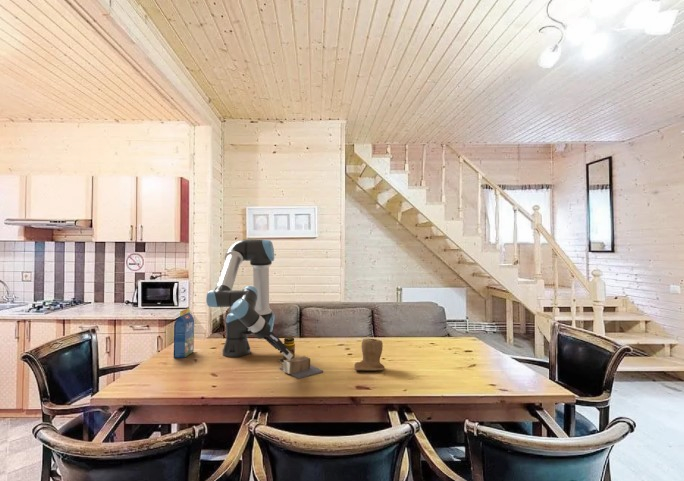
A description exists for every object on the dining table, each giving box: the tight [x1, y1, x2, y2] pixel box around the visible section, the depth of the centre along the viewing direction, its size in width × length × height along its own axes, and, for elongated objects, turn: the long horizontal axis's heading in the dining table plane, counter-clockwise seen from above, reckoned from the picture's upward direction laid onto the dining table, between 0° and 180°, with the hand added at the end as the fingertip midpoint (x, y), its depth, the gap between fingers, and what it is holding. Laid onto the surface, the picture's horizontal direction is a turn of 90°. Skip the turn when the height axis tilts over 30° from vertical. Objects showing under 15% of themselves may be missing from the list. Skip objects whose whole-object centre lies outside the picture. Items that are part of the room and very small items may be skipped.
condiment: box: [277, 336, 296, 365], centre depth 188 cm, size 7×8×12 cm
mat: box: [279, 364, 324, 379], centre depth 173 cm, size 17×14×1 cm
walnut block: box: [282, 355, 311, 375], centre depth 172 cm, size 5×5×12 cm
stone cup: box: [353, 337, 386, 372], centre depth 176 cm, size 15×12×15 cm
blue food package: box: [173, 307, 195, 359], centre depth 197 cm, size 6×12×25 cm, turn 1°
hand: (290, 357), depth 169 cm, fingers closed
